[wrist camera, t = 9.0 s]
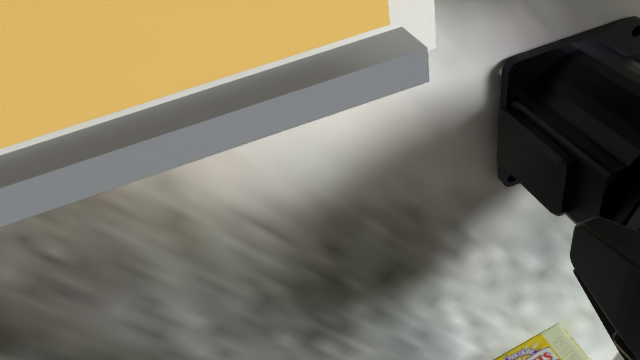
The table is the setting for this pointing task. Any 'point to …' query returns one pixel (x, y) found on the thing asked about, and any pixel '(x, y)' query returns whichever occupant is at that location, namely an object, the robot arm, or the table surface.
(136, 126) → the breaker box
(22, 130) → the yellow rectangular block
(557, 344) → the candy box
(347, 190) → the table surface
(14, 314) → the table surface
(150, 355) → the table surface
